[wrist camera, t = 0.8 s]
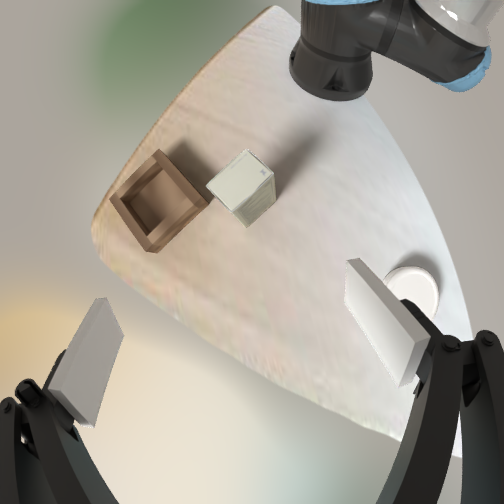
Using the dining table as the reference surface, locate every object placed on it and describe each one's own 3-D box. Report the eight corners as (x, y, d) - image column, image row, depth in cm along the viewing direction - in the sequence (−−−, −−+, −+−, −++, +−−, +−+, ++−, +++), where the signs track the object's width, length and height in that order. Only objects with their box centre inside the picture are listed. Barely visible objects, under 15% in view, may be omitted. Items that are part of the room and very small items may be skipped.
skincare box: (257, 180, 40) (247, 145, 28) (277, 201, 39) (276, 172, 27) (225, 209, 40) (203, 184, 28) (245, 230, 39) (231, 213, 27)
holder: (168, 158, 42) (158, 148, 38) (209, 204, 40) (201, 197, 36) (121, 204, 42) (109, 199, 38) (157, 253, 41) (145, 251, 37)
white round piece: (381, 261, 37) (390, 260, 34) (434, 272, 36) (445, 272, 33) (368, 327, 37) (376, 332, 33) (421, 334, 36) (432, 338, 32)
